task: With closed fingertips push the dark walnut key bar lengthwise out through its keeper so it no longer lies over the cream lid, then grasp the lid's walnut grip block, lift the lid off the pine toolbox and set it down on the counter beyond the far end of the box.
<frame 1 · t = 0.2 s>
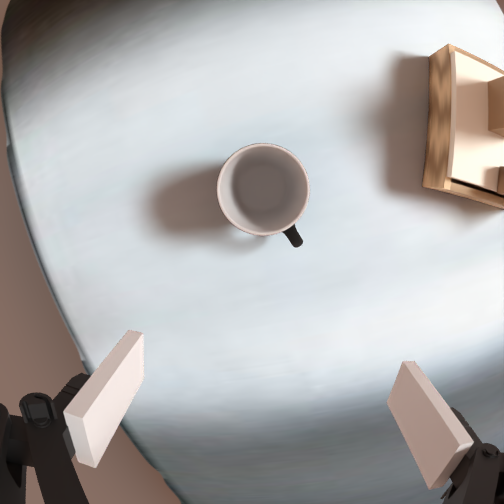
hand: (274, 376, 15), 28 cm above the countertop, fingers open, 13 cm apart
mug: (269, 197, 41), on the countertop
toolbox: (470, 132, 37), on the countertop
lid: (494, 129, 32), point 6 cm above the countertop, touching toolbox
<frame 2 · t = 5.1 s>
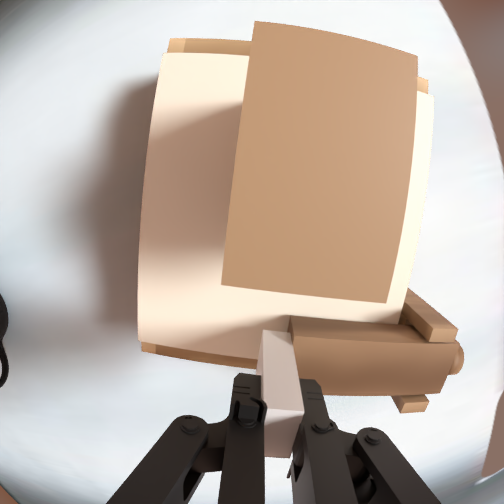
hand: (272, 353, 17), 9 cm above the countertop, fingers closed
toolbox: (278, 206, 24), on the countertop
lid: (284, 214, 18), point 6 cm above the countertop, touching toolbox
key: (381, 359, 17), point 9 cm above the countertop, slide at 1.0 cm, touching gripper
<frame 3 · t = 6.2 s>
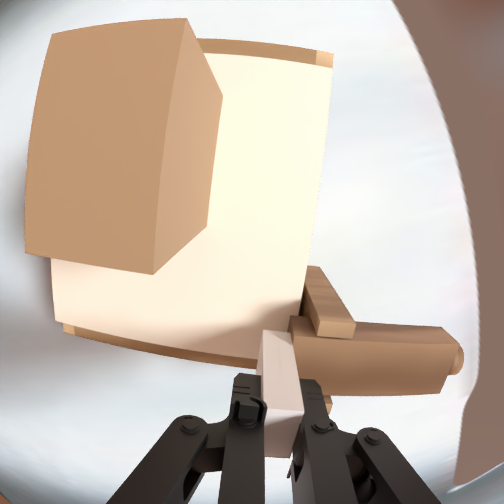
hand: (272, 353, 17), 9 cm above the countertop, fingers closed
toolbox: (194, 196, 24), on the countertop
lid: (173, 201, 18), point 6 cm above the countertop, touching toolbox
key: (381, 359, 17), point 9 cm above the countertop, slide at 7.3 cm, touching gripper
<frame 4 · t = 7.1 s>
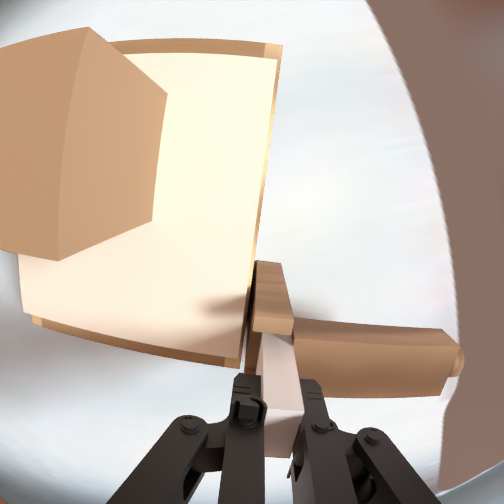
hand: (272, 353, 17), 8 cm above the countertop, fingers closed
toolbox: (155, 192, 24), on the countertop
lid: (124, 197, 18), point 6 cm above the countertop, touching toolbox
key: (381, 361, 17), point 9 cm above the countertop, slide at 10.4 cm, touching gripper
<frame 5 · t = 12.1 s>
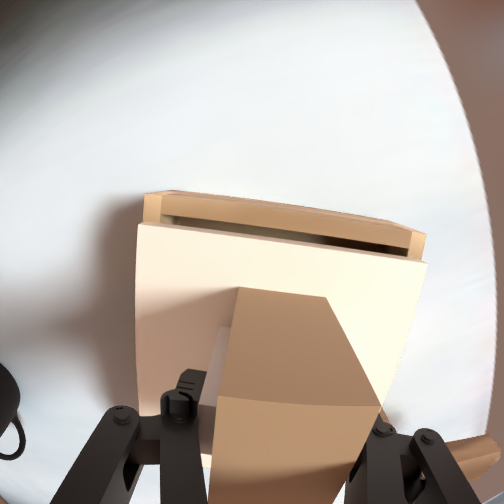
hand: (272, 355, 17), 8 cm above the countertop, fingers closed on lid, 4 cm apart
mug: (10, 390, 28), on the countertop
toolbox: (264, 333, 25), on the countertop
lid: (265, 375, 19), point 6 cm above the countertop, touching gripper, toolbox
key: (449, 465, 18), point 9 cm above the countertop, slide at 10.5 cm
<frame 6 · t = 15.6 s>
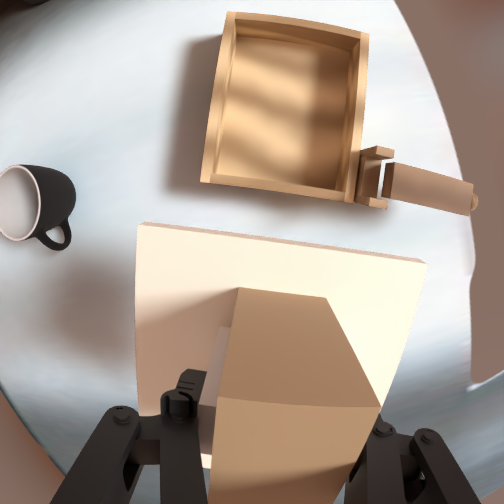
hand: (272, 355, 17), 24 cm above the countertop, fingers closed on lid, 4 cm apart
mug: (64, 205, 40), on the countertop
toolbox: (285, 109, 36), on the countertop
lid: (265, 376, 19), point 22 cm above the countertop, touching gripper
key: (434, 191, 29), point 9 cm above the countertop, slide at 10.5 cm
when the fingers open (4 cm above the countertop, at t = 19.3 s): lid drops 2 cm, point 1 cm above the countertop.
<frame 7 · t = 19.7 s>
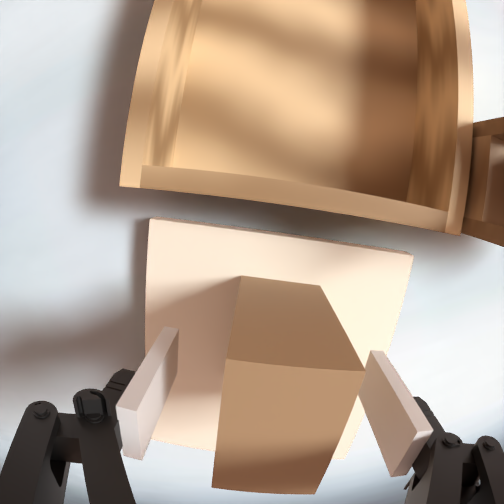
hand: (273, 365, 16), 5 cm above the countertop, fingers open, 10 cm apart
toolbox: (309, 46, 17), on the countertop
lid: (265, 360, 21), point 1 cm above the countertop
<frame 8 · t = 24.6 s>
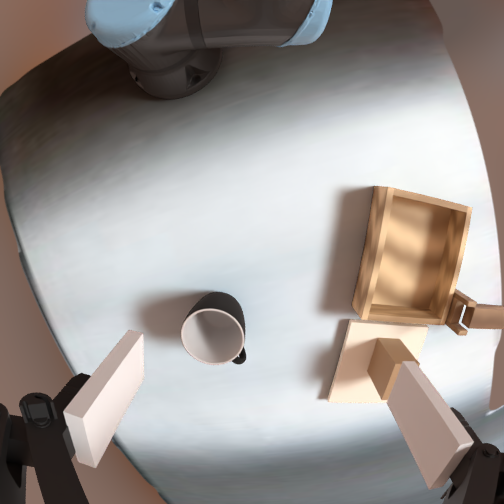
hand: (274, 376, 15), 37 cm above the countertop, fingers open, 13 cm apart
mug: (225, 317, 54), on the countertop
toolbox: (406, 253, 51), on the countertop
lid: (377, 363, 54), point 1 cm above the countertop
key: (490, 316, 44), point 9 cm above the countertop, slide at 10.5 cm
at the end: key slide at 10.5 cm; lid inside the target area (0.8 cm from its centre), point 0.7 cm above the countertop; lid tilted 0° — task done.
